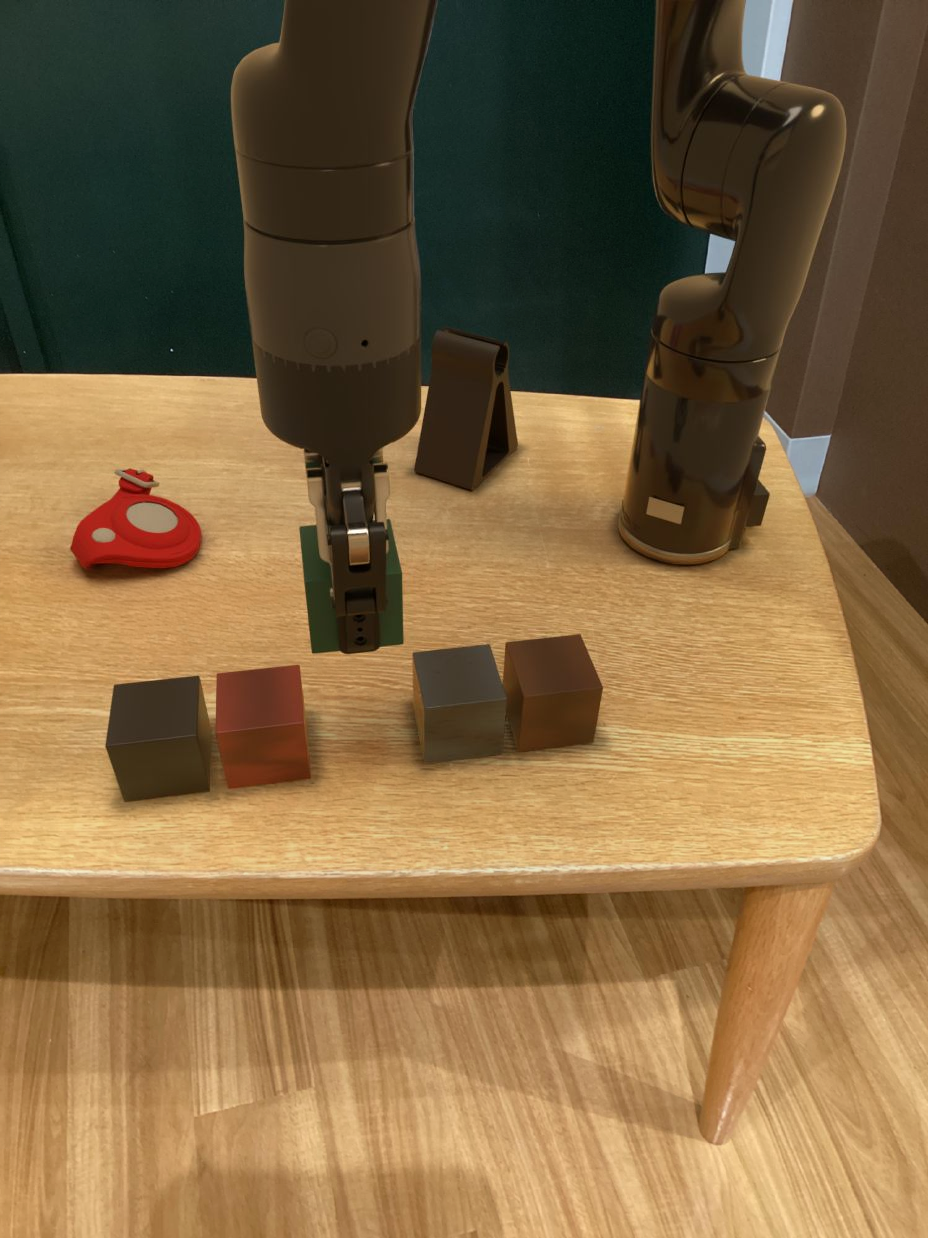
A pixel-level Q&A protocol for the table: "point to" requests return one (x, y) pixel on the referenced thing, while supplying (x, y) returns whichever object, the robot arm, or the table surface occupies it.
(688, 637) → the table surface
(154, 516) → the tracker holder
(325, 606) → the green block
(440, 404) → the phone stand
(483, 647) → the block line
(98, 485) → the table surface
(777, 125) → the robot arm
